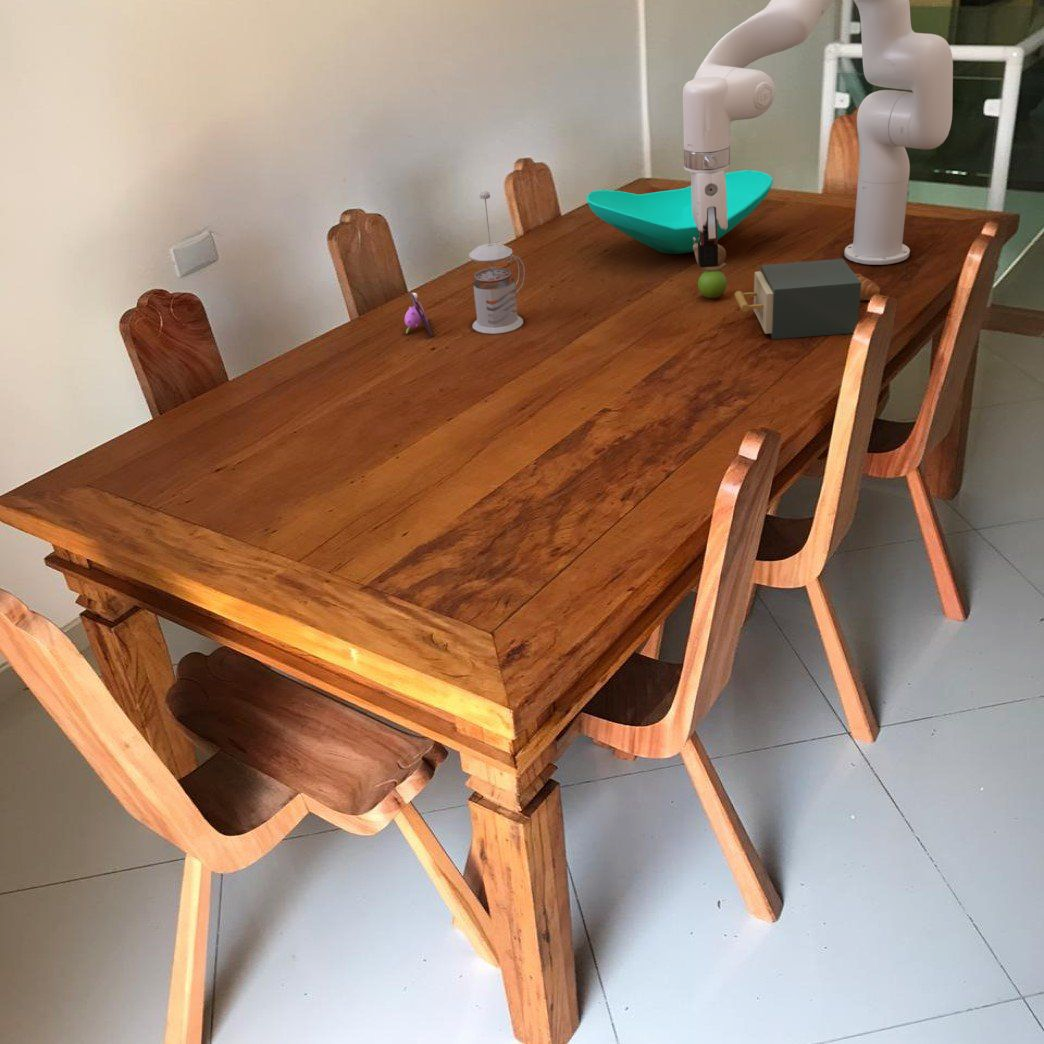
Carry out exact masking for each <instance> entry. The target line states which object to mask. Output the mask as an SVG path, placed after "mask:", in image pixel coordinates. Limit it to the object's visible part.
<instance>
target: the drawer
mask: <svg viewBox="0 0 1044 1044" xmlns="http://www.w3.org/2000/svg"><path fill="white" fill-rule="evenodd" d="M753 279H754V282H753V291H750V292H742V291H741V290H737V291H735V292H734V298H735V300H736V302H737V304H738V307H739V308H740V311H741V312H743V313H748V312H749V310H753V312H754V314H755V316H756V318H757V320H758V322H759V325H760V326H761V329H762V330H763V332H764V334H765V335H768V334H769V335H770V333H772V323H773V297H774V292H773V290H772V289H771V287H770V285H769V284H768V283H767V281H766V279H765V277H764V275H763V274H762V272H761V270H759V271H754V278H753ZM748 297H749V298H750V297H753V304H748V302H747V300H746V298H748Z"/></svg>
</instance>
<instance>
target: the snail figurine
mask: <svg viewBox="0 0 1044 1044" xmlns="http://www.w3.org/2000/svg"><path fill="white" fill-rule="evenodd" d="M693 240H694V241H696V238H695V237H693ZM694 243H695V242H694ZM693 250H694V252H693V253H694V256H695V260H696V263H697V265H698V267H699V268H700V269H701V270H703V271H704V272H702V274H700V275H699V278H698V281H697V288H698V291H699V293H700V294H701V295H702V296H703V297H705V298H707V299H716V298H719V297H721V296H722V295H723V294H724V293H725V291H726V289H727V288H728V287H727V286H728V280H727V277H726V275H725V274H724V273H723V272H722V271H721V270H722V269H724V268H725V266H726V265H727V264H726V262H725V260H726V258H727V252H726V249H725V248H724V246H723V245H722V244H721V245H720V244H718V265H717V266H713V267H703V268H701V267H700V266H699V264H698V243H696V244H694V245H693Z"/></svg>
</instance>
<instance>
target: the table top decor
mask: <svg viewBox="0 0 1044 1044" xmlns="http://www.w3.org/2000/svg"><path fill="white" fill-rule="evenodd" d="M725 179H726V194H727V221H728V228H727V229H726V230H723V229H721V227H720V225H719V223H718V228H717V229H718V230H717V241H719V240H720V239H721V238H722V237H724V236H725V235H726V234H727V233H729V232H730V231H732V230H733V229H734V228H735V227H737V226H738V225H739V224H740V223H741V222H742V221H744V220H745V219H746V218H747V217H748V216H749V215H751V213H752V212H753V211H754V210H755V209H756V208H757V207H758V206H759V205H760V204H761V203H762V202H763V201H764V200H765V199H766V198H767V197H768V195H769V193H770V191H771V189H772V186H773V184H774V178H772V176H771V175H770V174H769V173H766V172H763V171H760V170H750V169H744V170H737V171H731V172H725ZM585 196H586V202H587V204H588V207H589V209H590V211H591V212H593V213H594V214H595V216H597V217H598V219H600V220H602V221H603V222H605V223H606V224H608V225H610V226H611V227H613V228H615V229H616V230H617V231H619V232H621V233H623V234H625V235H627V236H629V237H630V238H633V239H634V240H636V241H638V242H639V243H642V244H643V245H646V246H647V247H650V249H651V248H652V249H653V250H655V251H657V252H659V253H662V254H667V255H680V254H688V253H695V252H694V250H693V245H694V244H696V243H698V242H699V238H698V228H697V226H696V224H695V221H694V219H693V214H692V200H691V185H689V186H687V187H684V188H677V189H669V190H661V191H654V192H648V193H641V194H639V193H638V194H637V193H633V192H627V191H621V190H613V189H611V190H610V189H599V190H592V191H591V192H589V193H588V194H587V195H585ZM693 237H695V238H696V241H694V240H693ZM694 242H695V243H694Z"/></svg>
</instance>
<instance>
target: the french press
mask: <svg viewBox="0 0 1044 1044" xmlns="http://www.w3.org/2000/svg"><path fill="white" fill-rule="evenodd" d="M490 198H491V194H490V192H489V191H488V190H483V191H481V192H479V199H480V200H484V206H485V216H486V225H487V234H488V236H487V237H488V243H485V244H481V245H478V246H476V247H475V248H474V249H473V250H472V251H470V252H469V253H468V257H469V259H470V260H471V261H473V262H475V263H484V264H485V263H486V264H488V263H490V264H491V267H489V268H485V269H482V270H481V269H480V270H479V271H477V272H475V273H474V274H473V279H474V281H473V286H472V287H473V295H474V304H475V313H476V320H474V322H473V323H472V329H473V330H475V331H476V332H479V333H481V334H492V335H493V334H494V335H495V334H504V333H507V332H508V333H509V332H511V331H515V330H516V329H519V328H520V327H522V325H523V324H524V319H523V318H522V317H521V316H520V315H518V307H517V296H516V295H517V294H518V292H519V291H520V290H521V289H522V287H523V285H524V283H525V279H526V270H525V265H524V262H523V261H522V259H521V258H520V257H519V256H516V255H514V254H513V249H512V248H511V247H509V246H507V245H504V244H503V243H495V242H491V235H490V227H489V218H488V217H489V216H488V208H487V200H488V199H490ZM509 258H510V261H509V260H508V259H509ZM512 258H513V259H514V260H515V263H516V264H517V270H518V273H517V278H516V279H517V280H516V282H515V279H514V278H513V277H512V276H513V271H511V270H510V269H508V268H504V267H494V266H493V263H497V262H501V261H502V262H503V261H505V262H506V263H507V264H512V261H513V259H512ZM519 262H520V264H521V266H522V273H523V274H522V275H523V279H522V282H521V285H520V286H519V288H518V289H517V290H516V286H517V285H518V283H519V280H520V276H521V270H520V264H519ZM510 280H511V284H510ZM495 283H496V284H498V285H496V284H495ZM483 284H486V285H484V286H482V287H481V285H483ZM480 287H481V288H480ZM511 292H512V293H511ZM488 302H496V303H488ZM512 305H513V306H512Z"/></svg>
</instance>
